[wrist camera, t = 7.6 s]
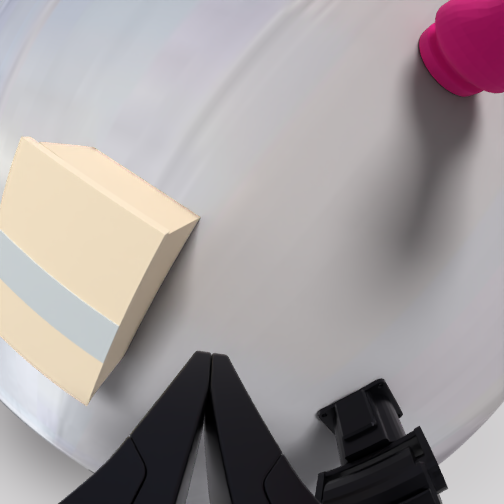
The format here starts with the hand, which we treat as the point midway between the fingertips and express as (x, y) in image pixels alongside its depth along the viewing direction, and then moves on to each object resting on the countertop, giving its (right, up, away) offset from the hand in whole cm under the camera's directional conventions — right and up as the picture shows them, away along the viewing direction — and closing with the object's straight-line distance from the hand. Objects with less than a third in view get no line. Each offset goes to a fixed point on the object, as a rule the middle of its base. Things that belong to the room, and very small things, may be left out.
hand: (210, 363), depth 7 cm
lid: (-11, +1, +6) cm, 12 cm away
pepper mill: (+17, +18, +7) cm, 25 cm away
